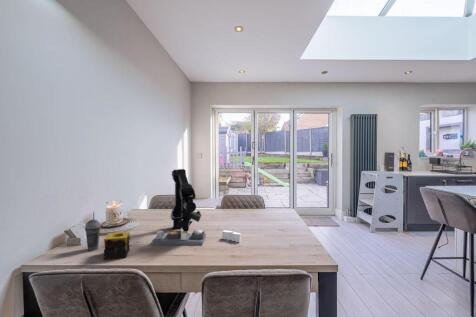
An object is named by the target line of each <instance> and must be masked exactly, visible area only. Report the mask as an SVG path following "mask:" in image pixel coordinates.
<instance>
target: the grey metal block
mask: <svg viewBox="0 0 476 317" xmlns="http://www.w3.org/2000/svg"><path fill="white" fill-rule="evenodd" d="M164 233H165V231H164V230H157V231H156V236H157V238H156V239H161V240H162V238H163V237H164Z"/></svg>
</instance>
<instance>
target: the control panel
mask: <svg viewBox="0 0 476 317" xmlns="http://www.w3.org/2000/svg"><path fill="white" fill-rule="evenodd" d="M173 231H174V230H169V232H164V237H163V238H162V240H161V239H156V238H157V235H156V236H155V237H154V238H153V239H152V240H151V242H152V243H151V245H178V246H181V245H182V246H183V245H184V246H203V244H204V243H205V240H206V237H207V236H206V233H205V231H203V230H202V235H194V230H193V232H190V233H189V232H188V239H187V240H181V233H182V231H181V230H176V231H177V232H179V234H170V232H173Z"/></svg>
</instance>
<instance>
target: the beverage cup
mask: <svg viewBox="0 0 476 317" xmlns="http://www.w3.org/2000/svg"><path fill="white" fill-rule="evenodd" d="M101 228H102V224H101V222H100V221H99V220H98V219H95V211H93V215H92V219H91V220H88V221H87V223H86V224H85V227H84V231H85V236H86V245H87V250H88V251H89V252H95V251H96V250H97V251H98V249H99V243H100V234H101Z"/></svg>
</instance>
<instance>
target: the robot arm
mask: <svg viewBox="0 0 476 317" xmlns="http://www.w3.org/2000/svg"><path fill="white" fill-rule="evenodd" d="M171 177H172V180H173V182H174V205H173V206H172V208H171V209H172V210H171V212H170V220H171V221H172V227H171V230H181V229H182V230H183V231H188V232H189V229H190V226H191V224H192V223H193V221H195V222H197V223H199V222H200V219H201V217H202V214H201V211H200V210H197V211H195V210H196V209H197V205H196V203H195V202H194V201H193V200H196V196H197V195H196V191H195V188H193V185H192V184H191V183H189V181H188V177H187V172H186V169H184V168H178V169H173V170H172V171H171Z"/></svg>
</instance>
